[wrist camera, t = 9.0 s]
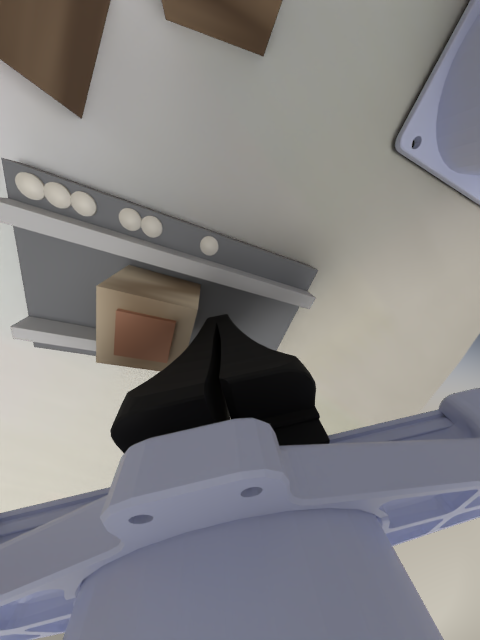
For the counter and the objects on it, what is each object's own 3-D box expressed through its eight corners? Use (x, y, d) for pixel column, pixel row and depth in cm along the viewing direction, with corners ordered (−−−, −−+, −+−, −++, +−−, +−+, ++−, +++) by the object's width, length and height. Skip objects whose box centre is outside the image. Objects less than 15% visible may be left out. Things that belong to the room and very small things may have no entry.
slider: (200, 284, 12) (197, 311, 8) (187, 337, 13) (180, 376, 10) (128, 264, 10) (93, 287, 7) (124, 325, 12) (93, 365, 9)
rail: (311, 266, 13) (328, 275, 11) (258, 371, 17) (264, 391, 16) (21, 163, 9) (-30, 149, 7) (45, 337, 13) (17, 359, 11)
